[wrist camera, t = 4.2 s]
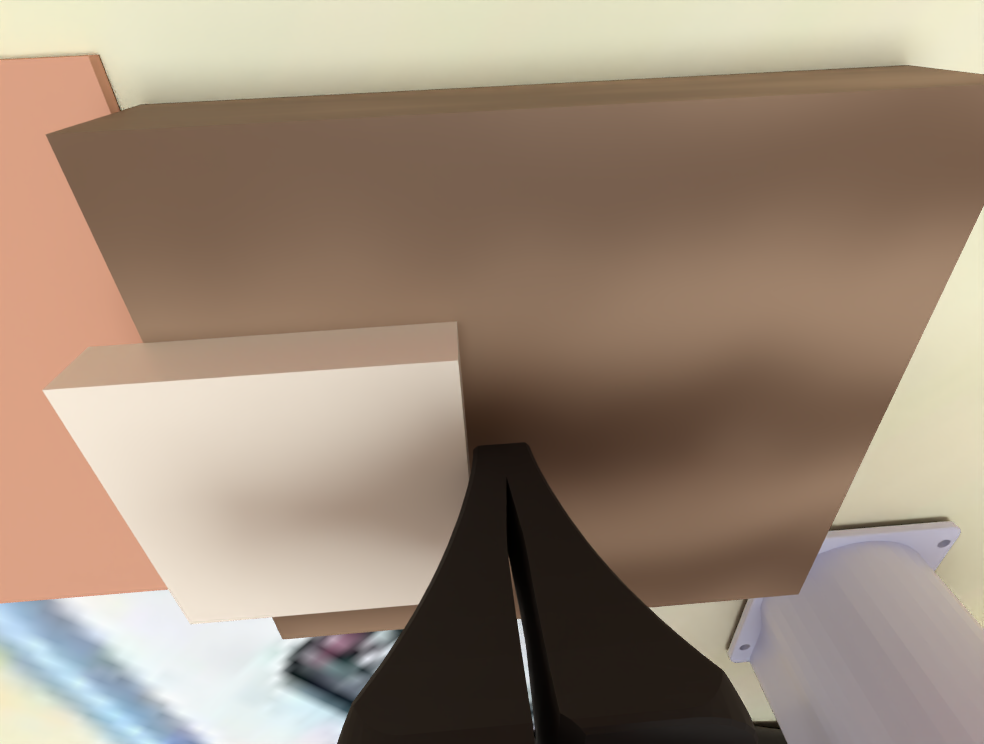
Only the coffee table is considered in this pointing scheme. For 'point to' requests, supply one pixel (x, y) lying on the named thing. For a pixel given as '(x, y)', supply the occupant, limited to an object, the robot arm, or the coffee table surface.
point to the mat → (53, 346)
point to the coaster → (279, 463)
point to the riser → (582, 278)
